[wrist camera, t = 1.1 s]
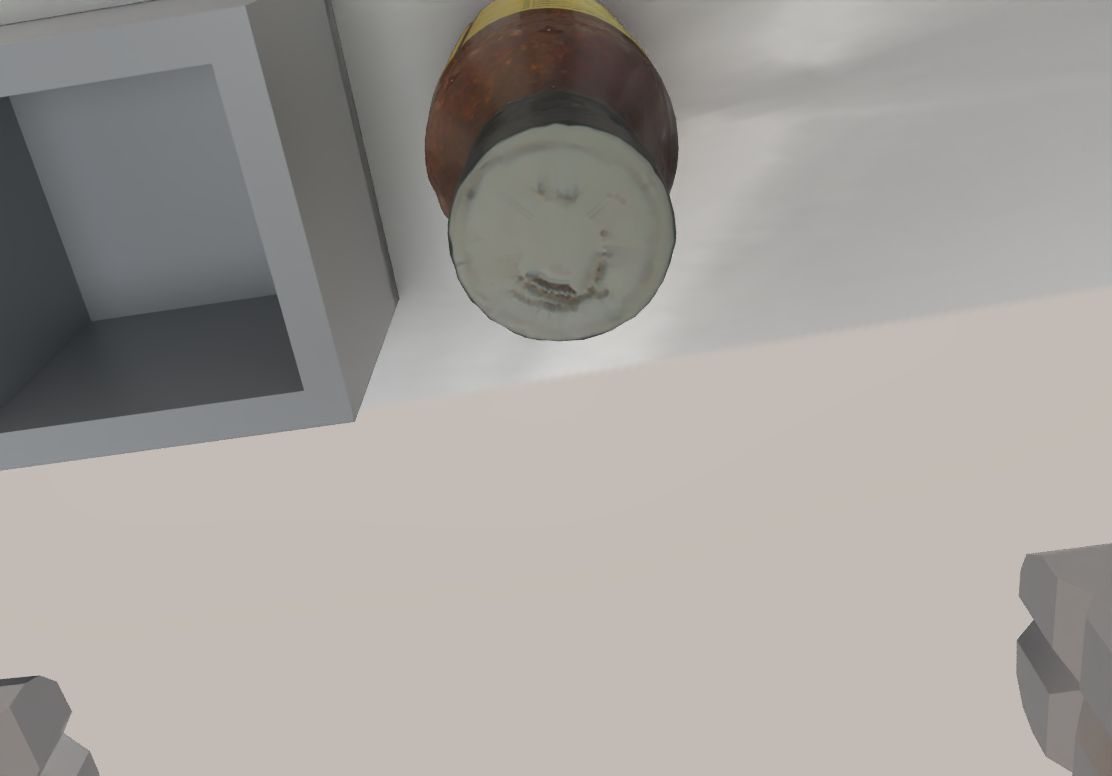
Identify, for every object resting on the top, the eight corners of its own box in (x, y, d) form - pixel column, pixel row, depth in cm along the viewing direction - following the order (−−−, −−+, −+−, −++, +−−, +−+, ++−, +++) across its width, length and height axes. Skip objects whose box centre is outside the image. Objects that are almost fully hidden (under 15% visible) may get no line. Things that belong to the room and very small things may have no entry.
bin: (324, -28, 35) (245, 5, 26) (399, 298, 40) (354, 421, 31) (-36, 31, 36) (-233, 84, 27) (81, 344, 41) (-52, 477, 32)
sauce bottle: (545, 202, 38) (538, 487, 21) (416, 75, 36) (285, 268, 19) (680, 70, 36) (803, 258, 19) (551, -71, 35) (551, -12, 17)
